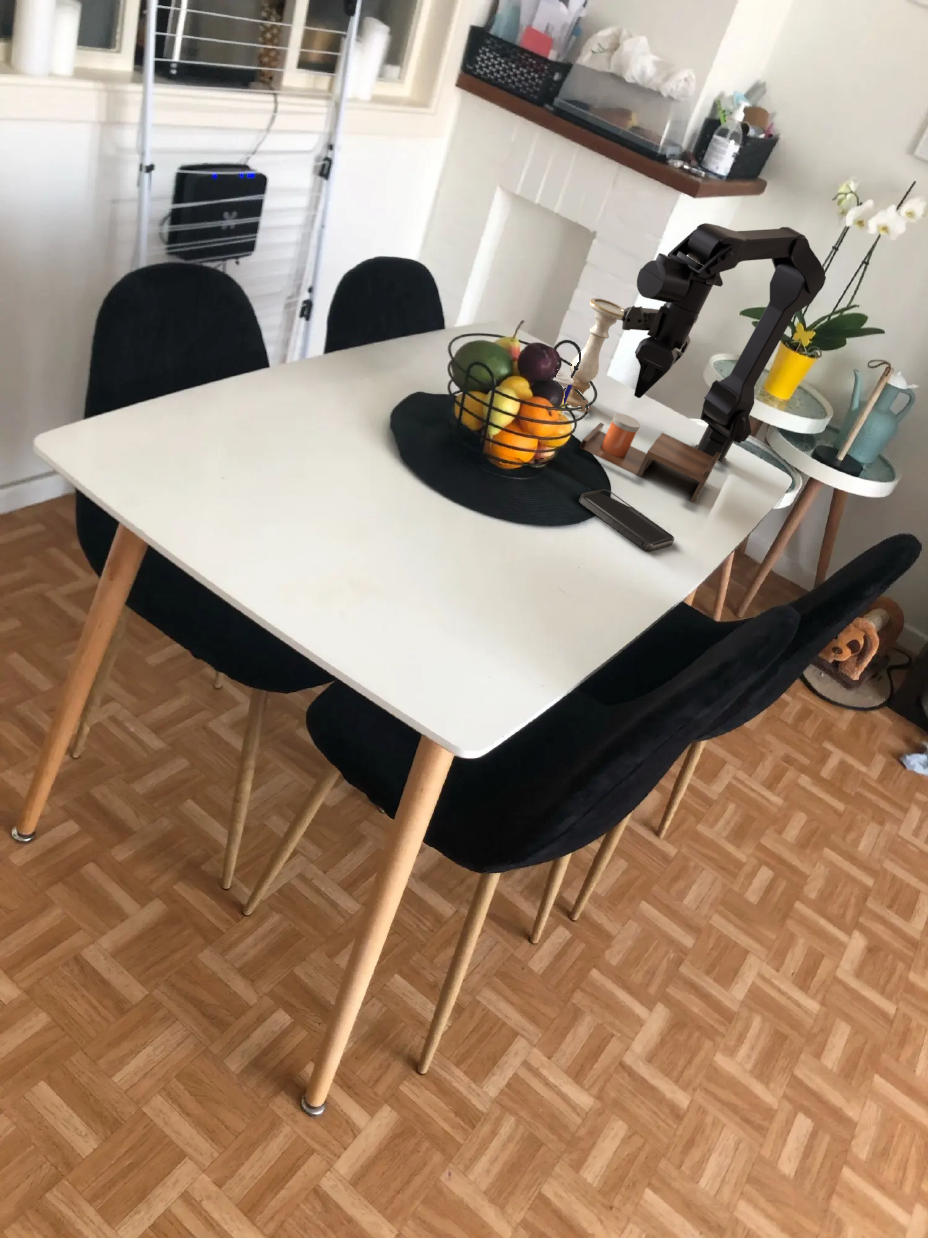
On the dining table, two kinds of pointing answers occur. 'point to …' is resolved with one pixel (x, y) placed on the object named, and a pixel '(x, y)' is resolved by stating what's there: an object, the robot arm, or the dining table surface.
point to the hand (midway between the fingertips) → (642, 391)
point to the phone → (627, 520)
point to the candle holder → (593, 349)
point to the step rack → (657, 457)
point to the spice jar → (620, 435)
